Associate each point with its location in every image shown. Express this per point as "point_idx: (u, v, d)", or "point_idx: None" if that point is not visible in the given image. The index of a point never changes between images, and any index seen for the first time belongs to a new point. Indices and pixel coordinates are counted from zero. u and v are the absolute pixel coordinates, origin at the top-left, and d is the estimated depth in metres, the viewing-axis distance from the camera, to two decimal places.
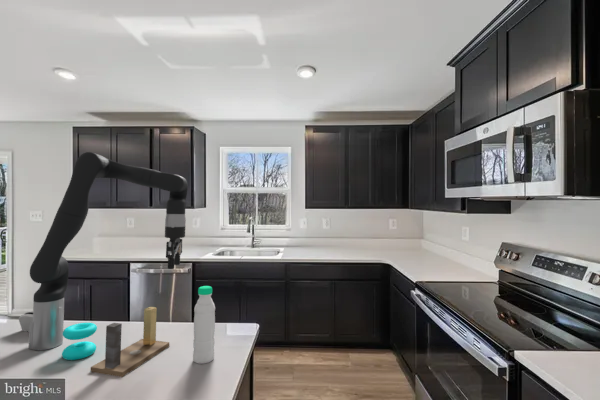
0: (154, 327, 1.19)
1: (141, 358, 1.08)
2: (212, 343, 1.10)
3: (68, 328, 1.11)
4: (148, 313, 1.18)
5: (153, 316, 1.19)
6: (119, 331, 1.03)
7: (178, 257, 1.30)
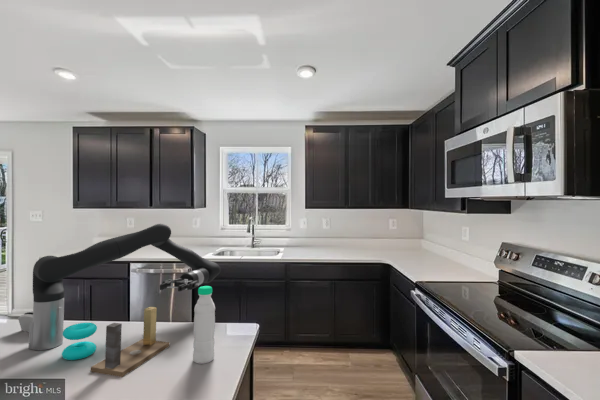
0: (154, 327, 1.19)
1: (141, 358, 1.08)
2: (212, 343, 1.10)
3: (68, 328, 1.11)
4: (148, 313, 1.18)
5: (153, 316, 1.19)
6: (119, 331, 1.03)
7: (165, 287, 1.34)
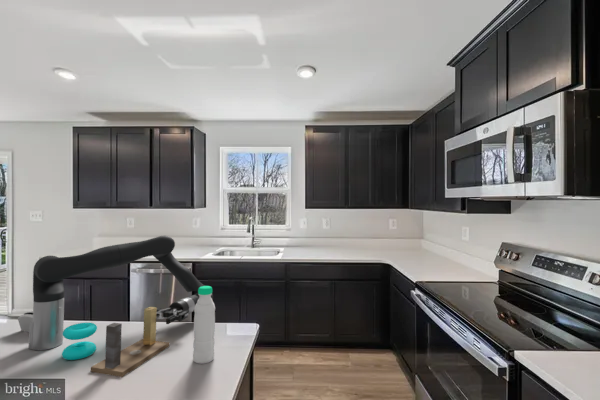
0: (154, 327, 1.19)
1: (141, 358, 1.08)
2: (212, 343, 1.10)
3: (68, 328, 1.11)
4: (148, 313, 1.18)
5: (153, 316, 1.19)
6: (119, 331, 1.03)
7: None
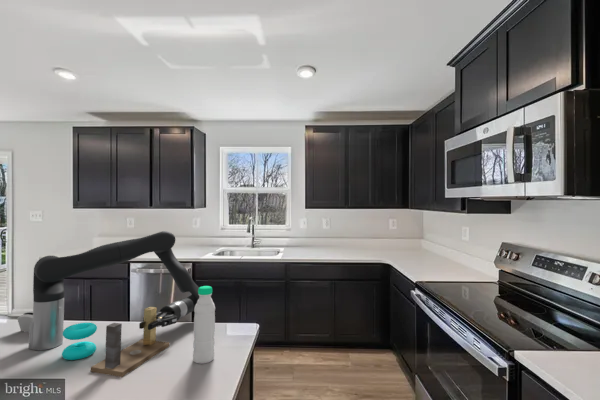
0: None
1: (141, 358, 1.08)
2: (212, 343, 1.10)
3: (68, 328, 1.11)
4: (148, 313, 1.18)
5: (153, 316, 1.19)
6: (119, 331, 1.03)
7: None
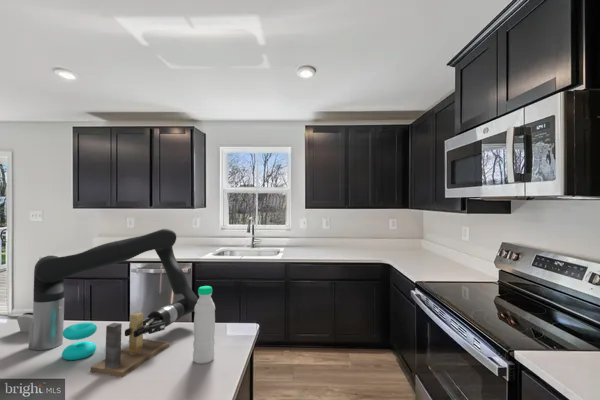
0: None
1: (141, 358, 1.08)
2: (212, 343, 1.10)
3: (68, 328, 1.11)
4: (133, 320, 1.11)
5: (139, 323, 1.12)
6: (119, 331, 1.03)
7: None
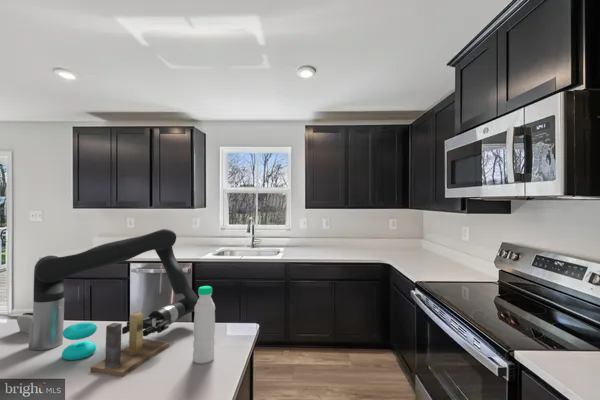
0: (141, 334, 1.13)
1: (141, 358, 1.08)
2: (212, 343, 1.10)
3: (68, 328, 1.11)
4: (133, 320, 1.11)
5: (139, 323, 1.12)
6: (119, 331, 1.03)
7: None
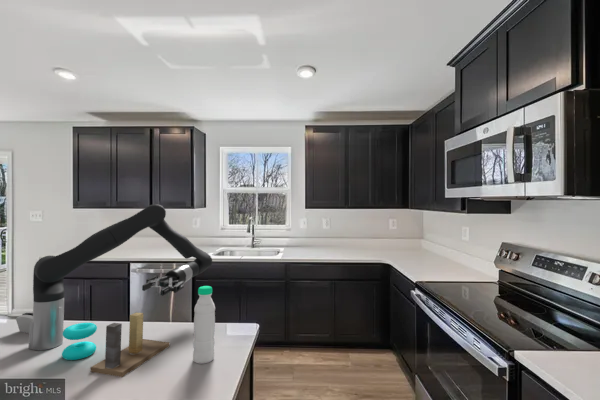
0: (141, 334, 1.13)
1: (141, 358, 1.08)
2: (212, 343, 1.10)
3: (68, 328, 1.11)
4: (133, 320, 1.11)
5: (139, 323, 1.12)
6: (119, 331, 1.03)
7: (149, 287, 1.27)
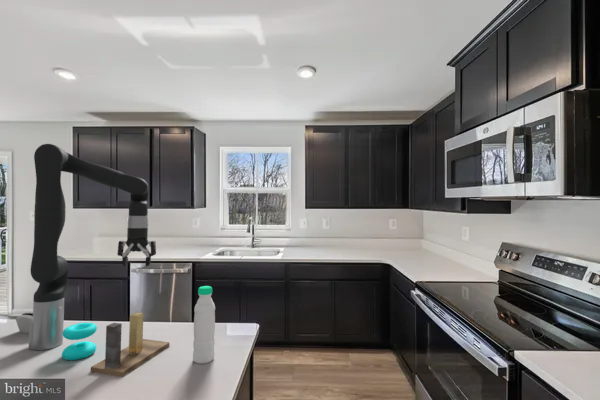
0: (141, 334, 1.13)
1: (141, 358, 1.08)
2: (212, 343, 1.10)
3: (68, 328, 1.11)
4: (133, 320, 1.11)
5: (139, 323, 1.12)
6: (119, 331, 1.03)
7: (127, 258, 1.32)
